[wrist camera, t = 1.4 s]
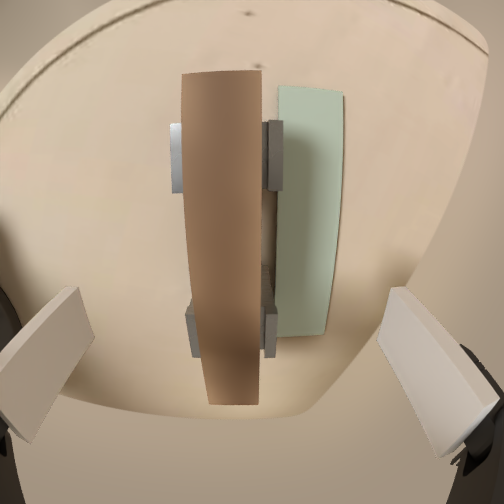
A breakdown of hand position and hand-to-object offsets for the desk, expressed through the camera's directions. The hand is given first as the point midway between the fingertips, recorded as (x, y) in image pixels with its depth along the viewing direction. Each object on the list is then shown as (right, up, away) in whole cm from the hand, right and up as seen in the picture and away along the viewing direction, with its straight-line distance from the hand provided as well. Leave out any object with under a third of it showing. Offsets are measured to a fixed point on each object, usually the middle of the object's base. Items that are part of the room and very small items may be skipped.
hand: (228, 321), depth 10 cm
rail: (0, +3, +7) cm, 7 cm away
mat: (+6, +5, +14) cm, 16 cm away
